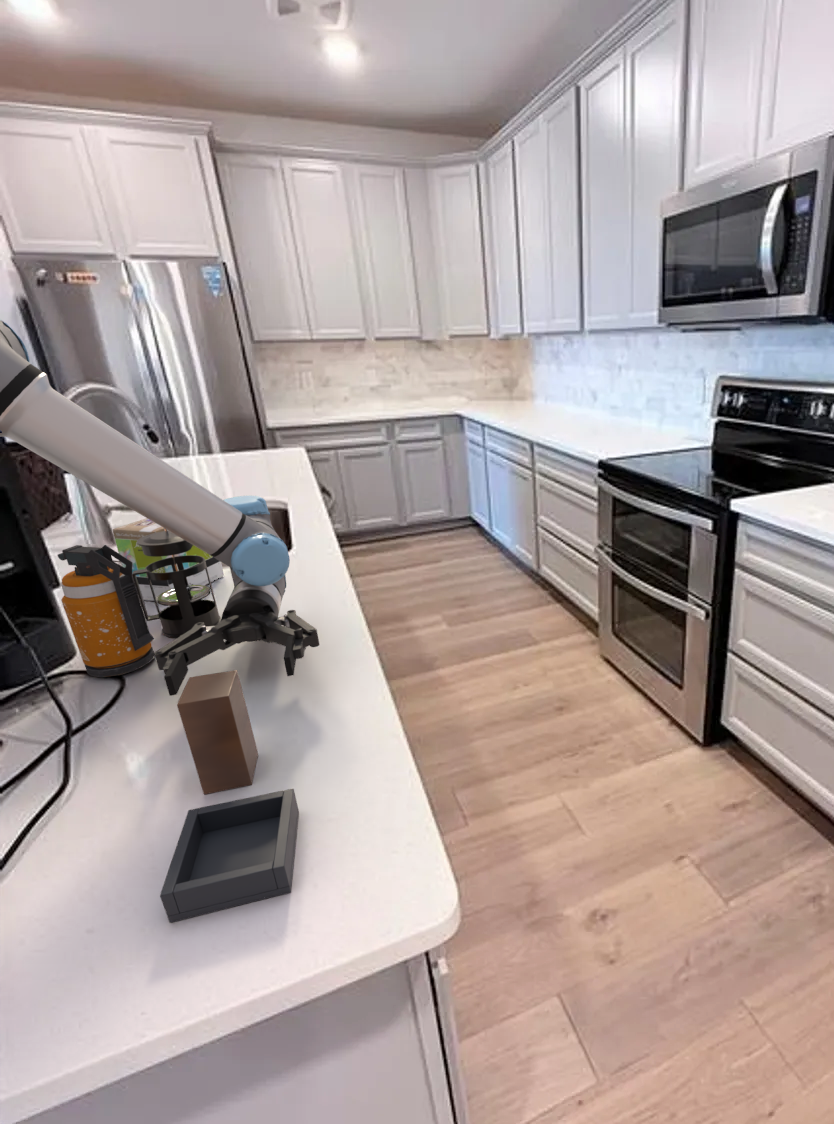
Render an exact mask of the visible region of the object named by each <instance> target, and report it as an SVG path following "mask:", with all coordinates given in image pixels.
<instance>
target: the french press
mask: <svg viewBox="0 0 834 1124" xmlns="http://www.w3.org/2000/svg"><path fill="white" fill-rule="evenodd" d="M164 529H165V528H164ZM137 544H138V545H139V546H141V547H142V550H143V553H144V555H146V556H152V557H160V556H170V555H172V557H171V558H166V559H162V560H159V561H156V562H153V563H151V564H149V565H148V566H147V567H146V568H145V569H141V570H136V571H133V573H132V576H133V580H134V583H135V585H136V588H137V589H136V590H137V593H138V596H139V599H140V603H141V606H142V610H143V613H144V616H145V620H146V622H151V621H156V620H159V621H160V625H161V634H162V635H163V636H164V637H165V638H170V639H177V638H178V637H180V636H181V635H183V634H184V633H186V632H188V631H189V630H191V629H192V628H193V626H194V625H195V624H196V623H198V622H204V624H205V626H206V627H208V626H215V625H216V624H217V623H218V622H220V621H221V619H222V616H221V615H220V613H219V609H218V605H217V601H216V598H215V593H214V589H213V586H212V582H210V578H209V574H208V570H207V566H206V562H205V559H204V558H203V557H201V556H196V555H186V556H177V557H175V556H174V555H176V554H180V553H184V552H187V551H189V550H190V549H191V548H192V546H193V545H192V544H191V543H189V542H187V541H185V540H184V539H182V538H180V537H179V536H177V535H175V534H173V533H172V532H170V531H168V530H167V529H165V531H162V532H157V533H153V534H150V535H146V536H144V537H142V538H140V539H138V540H137ZM190 562H194V563H200V564H198V565H196V566H194V567H191V568H188V569H184V566H183V563H190ZM169 565H171V566H172V569H173V572H166V573H153V572H152V571H154V570H156V569H159V568H162V567H165V566H169ZM204 569H206V573H207V577H208V581H209V583H208V584H209V585H207V584H206V585H188V581H187V578H186V577H188V576H192V575H195V574H197V573H199V572H201V571H203V570H204ZM145 573H146V575H147V578H148V581H149V585H150V588H151V591H152V595H153V598H154V601H153V602H154V604H155V608H156V611H157V614H152V615H149V613H148V610H147V607H146V604H145V600H143V597H142V594H141V590H140V587H139V584H138V581H137V577H136V575H139V574H145ZM150 579H151V580H172V582H173V586H174V588H173V589H170V590H167V591H165V592H163V593H161V594H159V595H158V596H157V597H155V593H154V590H153V586H152V583H151V580H150ZM209 595H211V597H212V600H211V599H205V598H207V597H208V596H209ZM159 605H160V606H166V608H164V609H163V610H160V607H159Z"/></svg>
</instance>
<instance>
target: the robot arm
mask: <svg viewBox="0 0 834 1124" xmlns="http://www.w3.org/2000/svg"><path fill="white" fill-rule="evenodd" d="M0 430H1V431H2V433H0V437H2V438H3V437H4V438H8V439H10V440H12V441H14V442H15V443H17V444H19V445H21V446H22V447H24V448H26V449H28V451H31V452H32V453H34V454H35V455H37V456H39V457H41V458H42V459H45V460H46V461H47V462H49V463H51V464H53V465H55V466H56V467H59V469H62V470H63V471H65V472H67V473H69V474H71V475H72V476H74V477H76V478H77V479H79V480H81V481H82V482H84V483H86V484H87V485H89V486H91V487H93V488H94V489H96V490H98V491H100V492H101V493H102V494H105V495H106V496H108V497H110V498H111V499H114V500H115V501H117V502H119V503H120V504H122V505H124V506H125V507H127V508H129V509H131V510H132V511H134V512H135V513H138V514H139V515H140V516H141V517H142V516H143V517H144V518H145V519H146V518H148V519H149V520H151V521H153V522H155V523H156V524H158V525H160V526H161V527H163V528H165V529H167V530H168V531H170V532H172V533H173V534H175V535H177V536H179V537H180V538H182V539H184V540H185V541H187V542H189V543H191V544H192V545H194V546H196V547H197V548H199V549H201V550H203V551H204V552H206V553H208V554H209V555H211V556H213V557H214V558H215V559H217V560H219V561H221V563H222V564H224V565H225V566H227V567H229V570H230V574H231V578H232V582H233V589H232V591H231V593H230V595H229V598H228V600H227V601H226V605H225V607H224V609H223V611H222V615H221V621H220V622H218V623H217V624H216V625H215V626H208V627H206V626H205V624H204V622H198V623H196V624H195V625H194V626H193V628H192V629H191V630H189V631H188V632H186V633H184V634H183V635H181V636H180V637H178V638H174V639H173V640H172V641H170V642H169V643H167V644H166V645H164V646H162V647H161V648H160V649H158V650H156V651H155V652H154V658H155V661H156V664H157V667H158V670H159V671H163V674H164V676H163V679H164V682H165V684H166V685H165V686H166V688H167V691H168V695H169V696H177V695H178V692H179V690H180V688H181V687H182V684H183V682H184V680H185V678H186V675H187V673H188V671H189V668H188V667H189V666H190V665H191V664H193V663H195V662H198V661H199V660H201V659H203V658H205V657H208V656H209V655H211V654H212V653H214V652H217V651H218V650H221V651H225V650H227V649H229V648H231V647H233V646H235V645H240V644H241V643H245V642H247V643H250V642H251V643H252V642H253V643H254V642H261V641H262V642H265V643H267V644H271V643H275V644H276V645H277V644H278V645H279V646H283V647H285V648H284V653H283V662H284V668H285V671H286V676H287V677H292V676H295V670H296V669H295V667H296V661H297V660H299V659H303V658H304V657H305V651H306V649H307V647H311V648H316V647H318V646H320V641H319V635H318V630H317V628H316V627H314V626H313V625H312V624H310V623H308V622H307V621H305V620H304V618H301V617H300V616H299V615H298V614H297V612H296V610H295V609H290V610H287V611H286V614H284V615H283V616H279V614H280V610H281V606H282V600H283V597H284V595H285V594H286V593H285V592H286V589H287V578H286V577H287V576H286V575H287V572H288V571H289V568H290V555H289V550H288V546H287V545H286V543H285V541H284V540H283V539H281V538H280V536H279V534H278V532H276V529H275V528H274V526H273V524H272V521H271V512H270V511H269V508H268V504H267V501H266V500H265V498H263V497H261V496H260V495H259V496H258V495H240V496H233V497H228V498H225V499H222V498H221V497H219V496H217V495H216V494H214V493H213V492H212V491H210V490H209V489H207V488H205V487H204V486H202V485H201V484H199V483H198V482H196V481H194V480H193V479H192V478H190V477H188V476H187V475H185V474H184V473H183V472H181V471H180V470H178V469H177V468H175V467H173V466H172V465H170V464H168V463H167V462H165V461H164V460H163V459H161V458H159V456H157V455H155V454H153V453H151V452H150V451H149V450H147V449H145V447H142V446H141V445H140V444H138V443H137V442H135V441H134V440H132V439H130V438H129V437H128V436H126V435H125V434H123V433H121V432H120V431H118V430H117V429H115V428H113V426H110V425H109V424H108V423H106V422H105V421H103V420H101V419H100V418H98V417H97V416H95V415H94V414H92V413H90V412H89V411H88V410H87V409H85V408H83V407H82V406H80V405H79V404H77V403H75V402H74V401H72V400H71V399H69V398H68V397H66V396H65V395H63V394H62V393H60V392H59V391H57V390H56V389H54V388H53V387H52V386H51V383H50V381H49V377H48V374H47V373H45V371H43V370H41V369H39V368H38V367H37V366H35V365H33V364H32V363H31V362H30V356H29V352H28V350H27V348H26V345H25V343H24V341H23V340H22V338H21V337H20V336H19V334H18V333H17V332H16V331H15V330H14V328H12V327H11V326H10V325H9V324H8V323H7V322H5V321H4V320H2V319H1V318H0Z"/></svg>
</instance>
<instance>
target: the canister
mask: <svg viewBox="0 0 834 1124" xmlns="http://www.w3.org/2000/svg"><path fill="white" fill-rule="evenodd" d="M57 558H58V559H59V560H60V561H67V564H68V566H74V570H72V571H70V572H67V573H66V574H65V575H64V576H63V577H62V578H61V583H60V586H61V590H62V593H63V596H62V597H61V603H62V606H63V609H64V612H65V615H66V618H67V621H68V623H69V626H70V629H71V633H72V635H73V637H74V641H75V643H76V646H77V649H78V652H79V653H80V657H81V659H82V662H83V664H84V668H85V670H86V674H88V675H89V676H91V677H98V678H105V677H117V676H122V675H127V674H129V673H132V672H135V671H137V670H139V669H140V668H142V667H144V666H146V665H147V664H150V662H152V660H154V658H155V655H154V653H155V652H154V651H155V650H154V647H153V645H152V642H153V641H155V638H154V636H153V635H152V634H151V633H150V630H149V626H148V623H147V621H146V619H145V616H144V612H143V609H142V606H141V603H140V600H139V596H138V593H137V590H136V589H137V588H136V585H135V583H134V580H133V577H132V565H133V562H131V561H130V560H128V559H127V558H125V557H124V556H122V555H120V554H119V552H118V551H116V550H115V549H113V548H111V547H109V546H108V545H107V544H103V546H102V547H96V546H95V547H94V546H83V545H81V544H76V545H73V546H71V547H67V548H64V549H62V550H61V553H58V554H57ZM113 558H114V559H115V560H114V559H113ZM119 563H121V564H119ZM122 563H124V564H125V565H126V567H123V566H122Z"/></svg>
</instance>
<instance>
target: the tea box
mask: <svg viewBox="0 0 834 1124" xmlns="http://www.w3.org/2000/svg"><path fill="white" fill-rule="evenodd" d="M162 531H165V529H164V528H163V527H161V526H160V525H158V524H156V523H155V522H153V521H151V520H149V519H148V518H146V517H145V518H143V519H139V520H137V521H134V522H131V523H127V524H124V525H122V526H118V527H115V528H112V534H113V537H114V541H115V545H116V548H117V553H119V554H120V555H122V556H124V557H125V558H127V559H128V560H130V561H131V562H133V565H132V573H133V571H136V570H141V569H145V568H146V567H147V566H148V565H149V564H151V563H153V562H156V561H159V560H162V559H166V558H171V557H172V555H170V556H160V557H152V556H146V555H144V553H143V550H142V547H141V546H139V545H138V544H137V540H138V539H140V538H142V537H144V536H146V535H150V534H153V533H157V532H162ZM186 555H196V556H201V557H203V558H204V559H205V562H206V566H207V570H208V574H209V578H210V582H211V583H213V582H215V581H217V580H219V579H221V578H223V577H224V576H225V573H224V569H223V563H222V562H221V561H219V560H217V559H215V558H214V557H213V556H211V555H209V554H208V553H206V552H204V551H203V550H201V549H199V548H197V547H196V546H194V545H193V546H192V548H191V549H190V550H189V551H187V552H184V553H180V554H176V555H174V556H175V557H177V556H186ZM198 564H200V563H194V562H190V563H183V566H184V569H188V568H191V567H194V566H196V565H198ZM121 566H123V567H126V565H125V564H124V563H121ZM152 572H153V573H166V572H173V569H172V566H171V565H169V566H165V567H162V568H159V569H156V570H154V571H152ZM132 577H133V576H132ZM136 577H137V581H138V584H139V587H140V590H141V594H142V597H143V600H144V601H149V602H150V601H151V602H155V601H154V598H153V595H152V591H151V588H150V585H149V581H148V578H147V575H146V573H145V574H139V575H136ZM186 578H187V581H188V585H206V586H207V585H208V584H209V581H208V577H207V573H206V569H204V570H203V571H201V572H199V573H197V574H195V575H192V576H188V577H186ZM218 578H219V579H218ZM150 580H151V579H150ZM214 580H215V581H214ZM151 583H152V586H153V590H154V593H155V597H157V596H158V595H159V594H161V593H163V592H165V591H167V590H170V589H173V588H174V586H173V582H172V580H151ZM139 600H140V599H139Z"/></svg>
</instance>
